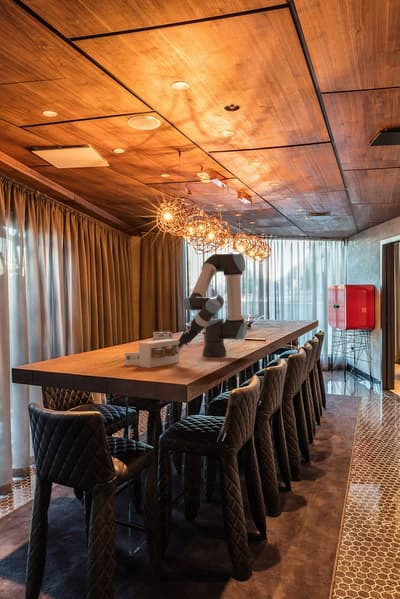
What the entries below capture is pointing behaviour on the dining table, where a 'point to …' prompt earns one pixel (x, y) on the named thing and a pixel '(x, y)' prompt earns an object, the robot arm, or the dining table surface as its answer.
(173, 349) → the plunger middle
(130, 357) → the card
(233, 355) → the dining table surface
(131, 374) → the dining table surface
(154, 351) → the plunger
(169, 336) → the candy bar box
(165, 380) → the dining table surface
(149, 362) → the console
